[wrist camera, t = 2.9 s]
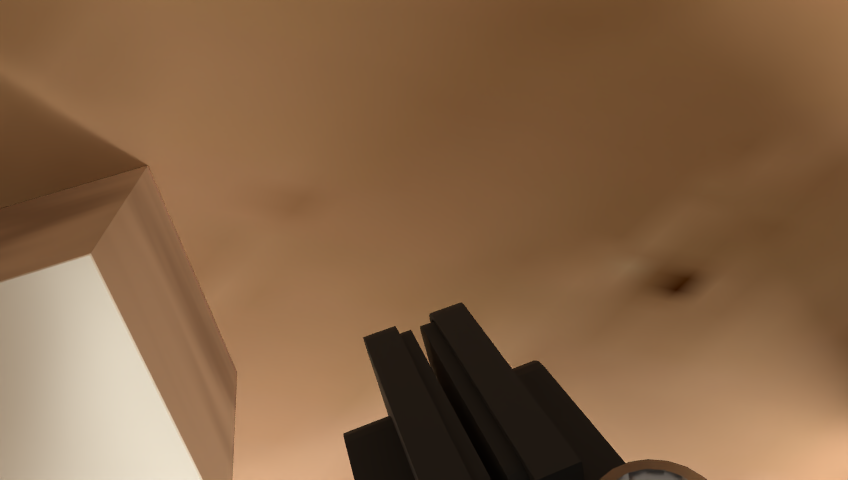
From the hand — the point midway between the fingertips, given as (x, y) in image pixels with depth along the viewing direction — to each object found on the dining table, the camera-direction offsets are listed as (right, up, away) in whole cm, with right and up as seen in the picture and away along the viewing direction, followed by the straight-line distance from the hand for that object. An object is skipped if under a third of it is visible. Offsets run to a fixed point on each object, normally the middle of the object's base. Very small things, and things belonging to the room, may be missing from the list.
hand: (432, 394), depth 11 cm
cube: (-10, 0, +8) cm, 13 cm away
